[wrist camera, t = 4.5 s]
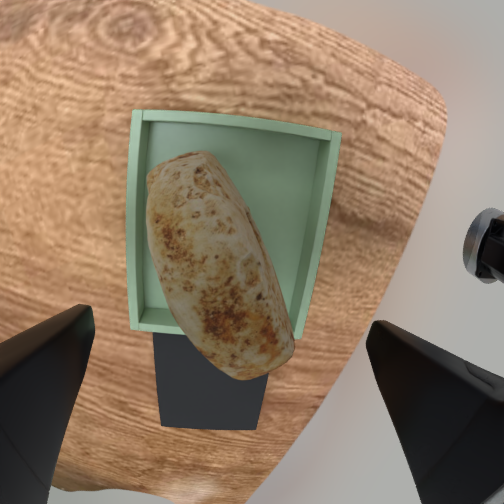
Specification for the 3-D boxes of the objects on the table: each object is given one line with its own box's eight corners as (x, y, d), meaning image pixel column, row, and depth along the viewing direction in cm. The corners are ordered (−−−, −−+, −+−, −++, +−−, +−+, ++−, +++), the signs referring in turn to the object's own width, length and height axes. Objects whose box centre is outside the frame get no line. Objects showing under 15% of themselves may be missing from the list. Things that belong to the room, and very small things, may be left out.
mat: (276, 329, 23) (277, 332, 22) (255, 427, 27) (255, 430, 26) (153, 321, 21) (152, 325, 21) (161, 423, 25) (161, 426, 25)
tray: (327, 132, 18) (342, 132, 16) (293, 319, 23) (301, 339, 20) (142, 112, 16) (132, 109, 14) (137, 309, 21) (130, 329, 19)
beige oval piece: (284, 283, 21) (332, 392, 12) (233, 306, 21) (249, 424, 12) (215, 135, 17) (213, 135, 8) (157, 164, 17) (95, 200, 8)
